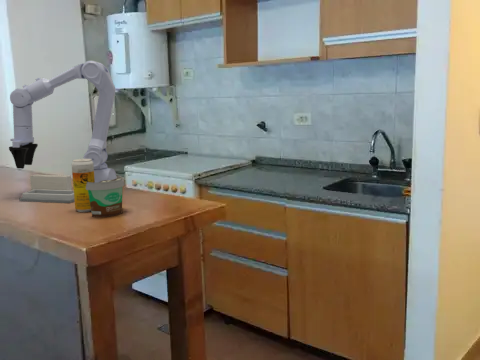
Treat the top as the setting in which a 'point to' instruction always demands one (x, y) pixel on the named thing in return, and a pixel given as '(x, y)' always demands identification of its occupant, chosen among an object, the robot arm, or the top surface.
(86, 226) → the top surface
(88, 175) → the beer can
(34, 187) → the long cream rectangular block
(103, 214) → the food container
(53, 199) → the stepped grey tray
